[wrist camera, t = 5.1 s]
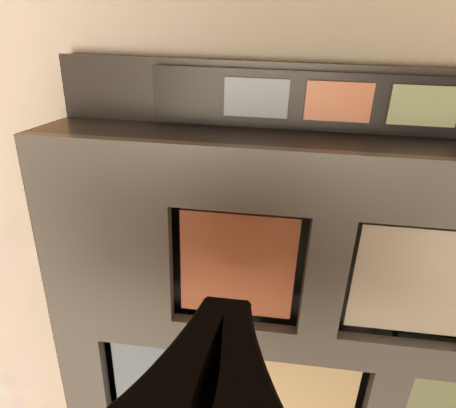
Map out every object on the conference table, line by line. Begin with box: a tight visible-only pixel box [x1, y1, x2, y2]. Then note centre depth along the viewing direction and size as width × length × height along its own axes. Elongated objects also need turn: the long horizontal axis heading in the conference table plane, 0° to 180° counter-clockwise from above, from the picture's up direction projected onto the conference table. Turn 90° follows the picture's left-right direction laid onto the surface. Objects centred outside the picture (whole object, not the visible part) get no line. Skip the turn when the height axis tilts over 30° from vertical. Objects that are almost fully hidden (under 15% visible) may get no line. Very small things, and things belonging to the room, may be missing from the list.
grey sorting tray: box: [14, 54, 456, 408], centre depth 16 cm, size 22×18×4 cm
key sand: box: [264, 361, 363, 408], centre depth 17 cm, size 4×4×2 cm
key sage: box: [397, 332, 456, 408], centre depth 17 cm, size 4×4×2 cm
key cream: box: [341, 222, 456, 337], centre depth 14 cm, size 4×4×2 cm
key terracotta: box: [179, 208, 302, 319], centre depth 15 cm, size 4×4×2 cm
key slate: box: [110, 343, 166, 398], centre depth 17 cm, size 4×4×2 cm
